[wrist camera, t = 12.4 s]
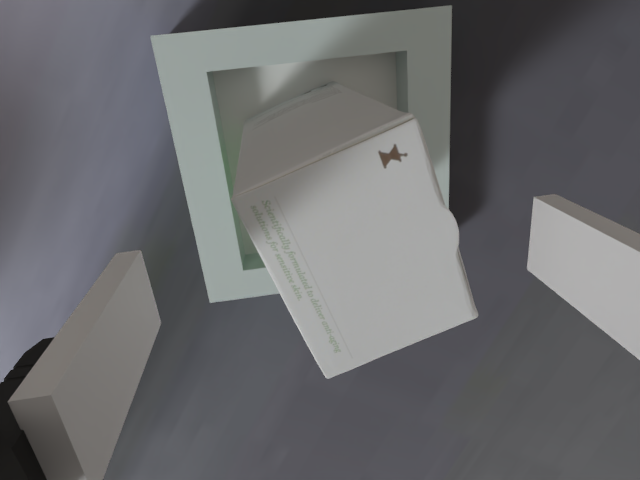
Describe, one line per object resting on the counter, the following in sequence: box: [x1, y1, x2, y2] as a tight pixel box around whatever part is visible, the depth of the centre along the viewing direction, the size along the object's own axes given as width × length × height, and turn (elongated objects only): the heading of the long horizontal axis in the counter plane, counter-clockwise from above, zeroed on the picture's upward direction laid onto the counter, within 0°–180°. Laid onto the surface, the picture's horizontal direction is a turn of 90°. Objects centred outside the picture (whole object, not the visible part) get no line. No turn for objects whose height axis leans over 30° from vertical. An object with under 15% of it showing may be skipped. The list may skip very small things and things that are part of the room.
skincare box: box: [231, 81, 478, 378], centre depth 22 cm, size 8×7×16 cm
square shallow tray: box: [150, 5, 452, 303], centre depth 28 cm, size 16×16×4 cm
